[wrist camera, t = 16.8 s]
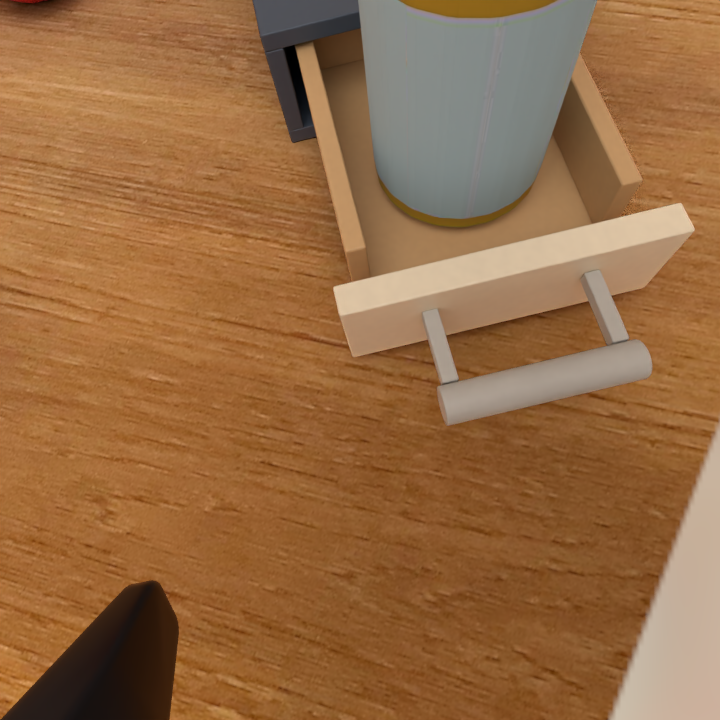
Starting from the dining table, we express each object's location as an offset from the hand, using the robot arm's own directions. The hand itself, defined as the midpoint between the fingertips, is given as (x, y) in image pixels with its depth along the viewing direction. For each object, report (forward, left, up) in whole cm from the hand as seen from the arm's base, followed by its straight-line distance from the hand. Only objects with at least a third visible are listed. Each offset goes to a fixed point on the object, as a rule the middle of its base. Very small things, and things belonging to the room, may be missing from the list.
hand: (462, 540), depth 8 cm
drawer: (+1, -14, -12) cm, 19 cm away
